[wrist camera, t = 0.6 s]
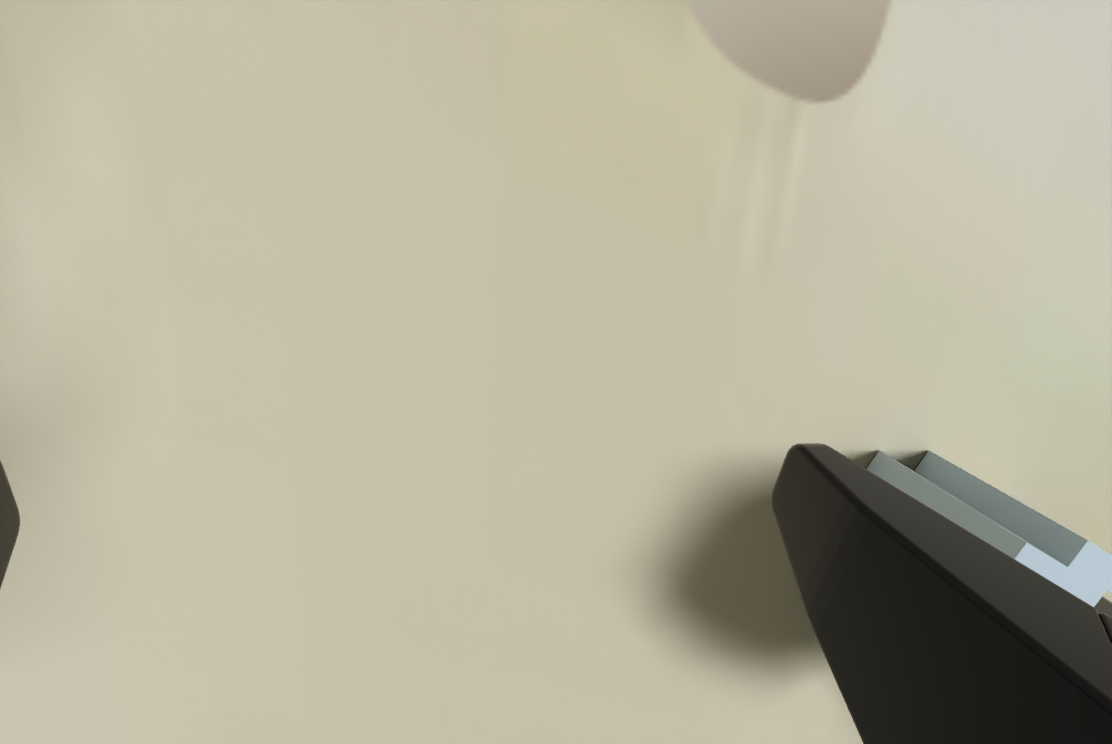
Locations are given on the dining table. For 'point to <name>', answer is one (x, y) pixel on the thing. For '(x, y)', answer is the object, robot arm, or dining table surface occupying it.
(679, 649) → the dining table surface
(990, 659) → the robot arm
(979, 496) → the lever frame
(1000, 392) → the dining table surface
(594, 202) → the dining table surface
